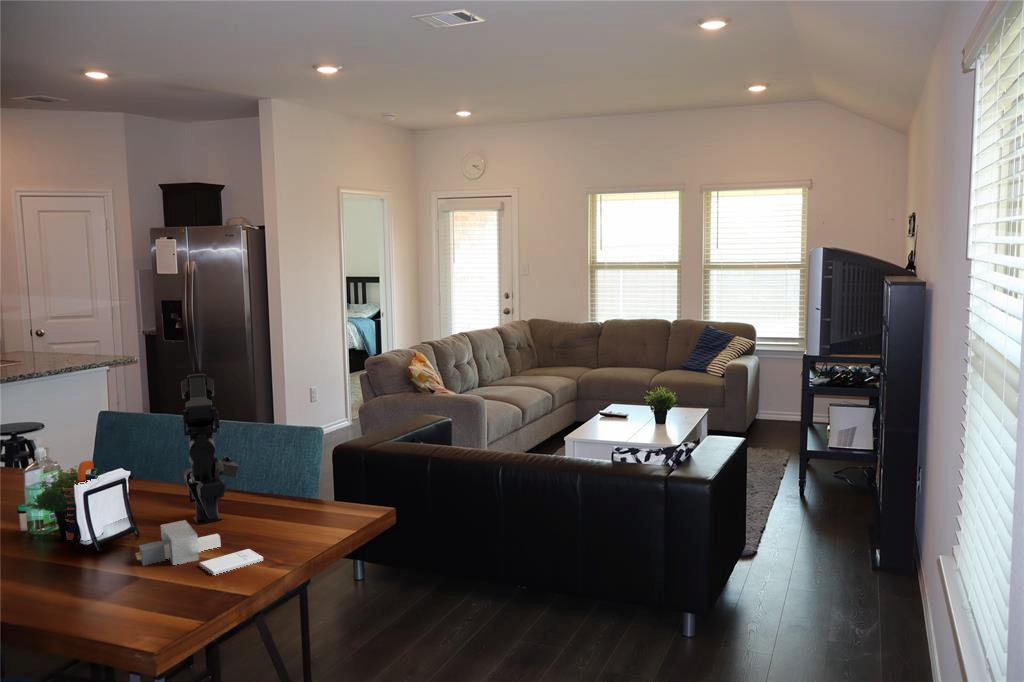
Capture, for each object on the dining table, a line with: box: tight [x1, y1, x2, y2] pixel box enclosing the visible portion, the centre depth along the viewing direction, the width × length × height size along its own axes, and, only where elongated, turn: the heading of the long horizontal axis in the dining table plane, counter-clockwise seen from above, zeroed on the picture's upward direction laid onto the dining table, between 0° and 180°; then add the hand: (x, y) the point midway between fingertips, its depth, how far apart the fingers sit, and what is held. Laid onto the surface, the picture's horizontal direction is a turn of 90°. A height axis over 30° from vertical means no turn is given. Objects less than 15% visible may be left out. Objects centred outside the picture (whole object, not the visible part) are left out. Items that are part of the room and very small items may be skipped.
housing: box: [160, 519, 200, 566], centre depth 202 cm, size 13×6×6 cm, turn 34°
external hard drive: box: [198, 548, 264, 576], centre depth 196 cm, size 2×8×12 cm
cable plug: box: [135, 533, 222, 567], centre depth 202 cm, size 20×4×4 cm, turn 124°
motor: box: [61, 460, 99, 541], centre depth 217 cm, size 10×9×20 cm
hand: (207, 513), depth 205 cm, fingers open, 9 cm apart
